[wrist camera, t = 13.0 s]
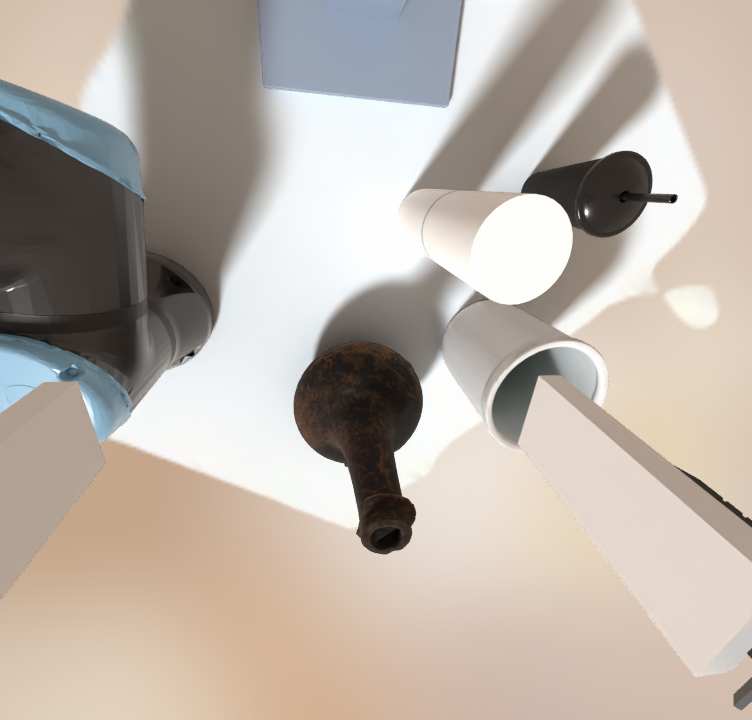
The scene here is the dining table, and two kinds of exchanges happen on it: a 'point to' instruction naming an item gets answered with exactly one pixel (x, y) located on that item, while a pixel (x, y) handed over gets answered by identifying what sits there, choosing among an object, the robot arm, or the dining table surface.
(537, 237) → the cylindrical container
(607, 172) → the drinking cup
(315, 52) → the stand
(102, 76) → the dining table surface
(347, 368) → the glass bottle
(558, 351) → the utensil holder
